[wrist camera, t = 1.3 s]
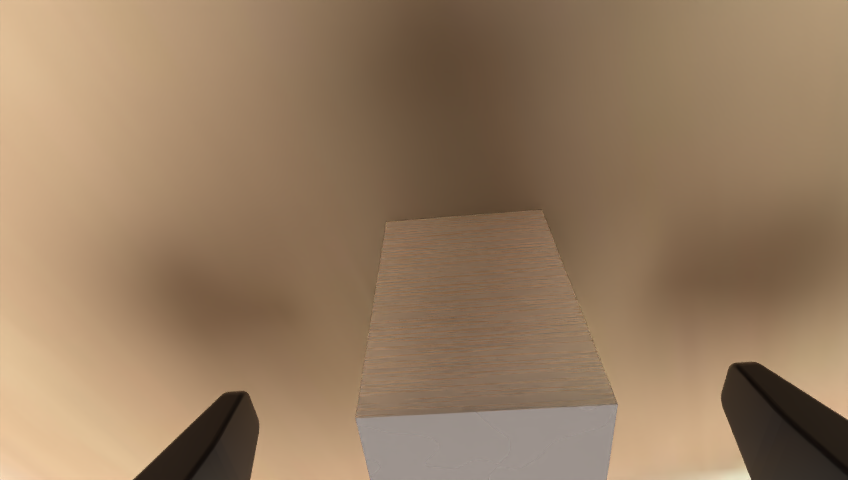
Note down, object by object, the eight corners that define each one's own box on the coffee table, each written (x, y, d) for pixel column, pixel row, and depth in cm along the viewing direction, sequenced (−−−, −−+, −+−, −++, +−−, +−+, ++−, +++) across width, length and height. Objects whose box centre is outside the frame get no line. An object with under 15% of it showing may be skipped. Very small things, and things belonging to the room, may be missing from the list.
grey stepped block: (541, 209, 11) (618, 404, 7) (535, 441, 16) (579, 663, 11) (386, 220, 12) (355, 418, 7) (420, 447, 16) (415, 666, 11)
